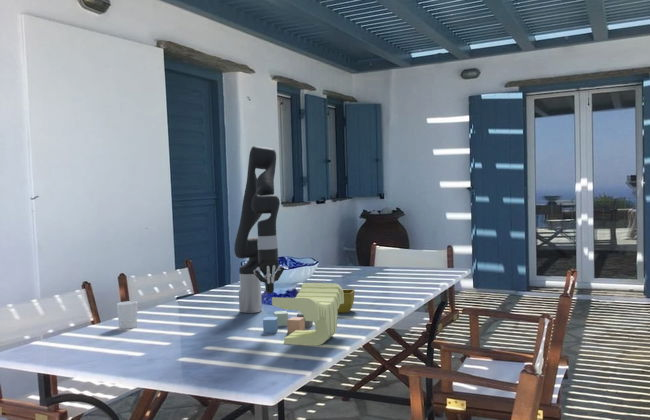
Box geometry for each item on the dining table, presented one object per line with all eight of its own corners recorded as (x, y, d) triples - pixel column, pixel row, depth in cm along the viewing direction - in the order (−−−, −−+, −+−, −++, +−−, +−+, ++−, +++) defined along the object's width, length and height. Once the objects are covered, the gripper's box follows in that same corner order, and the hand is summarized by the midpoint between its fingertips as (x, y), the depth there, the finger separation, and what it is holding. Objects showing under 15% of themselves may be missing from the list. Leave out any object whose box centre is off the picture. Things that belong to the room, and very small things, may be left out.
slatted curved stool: (319, 352, 194) (316, 298, 194) (274, 350, 199) (271, 297, 199) (345, 330, 223) (343, 283, 222) (305, 329, 228) (303, 282, 227)
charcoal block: (297, 327, 232) (296, 314, 232) (300, 324, 237) (300, 311, 237) (309, 327, 231) (309, 314, 231) (312, 324, 236) (312, 311, 236)
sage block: (275, 326, 234) (275, 314, 234) (274, 323, 239) (274, 311, 239) (288, 325, 235) (287, 313, 235) (287, 323, 240) (286, 310, 240)
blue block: (263, 333, 224) (262, 320, 224) (265, 330, 229) (264, 317, 229) (276, 332, 224) (276, 319, 224) (278, 329, 229) (277, 316, 229)
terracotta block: (287, 333, 223) (287, 319, 223) (292, 329, 228) (292, 316, 228) (299, 333, 221) (299, 320, 221) (304, 330, 226) (304, 317, 226)
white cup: (119, 330, 238) (118, 305, 237) (116, 326, 245) (115, 302, 244) (139, 327, 241) (138, 303, 241) (136, 324, 248) (135, 300, 248)
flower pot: (352, 314, 252) (351, 292, 252) (332, 313, 254) (331, 292, 254) (355, 309, 261) (354, 289, 260) (335, 309, 262) (335, 289, 262)
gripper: (278, 245, 232) (280, 289, 233) (247, 248, 225) (249, 294, 226) (287, 246, 226) (289, 291, 227) (256, 249, 219) (258, 296, 219)
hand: (269, 293), depth 226 cm, fingers closed
